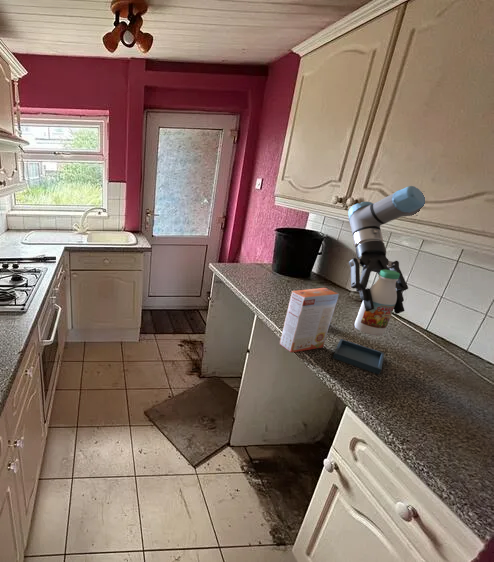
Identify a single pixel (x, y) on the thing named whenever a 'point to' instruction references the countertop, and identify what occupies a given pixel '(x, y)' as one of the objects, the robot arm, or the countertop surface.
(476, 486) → the countertop surface
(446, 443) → the countertop surface
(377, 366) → the tray
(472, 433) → the countertop surface
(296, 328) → the cracker box
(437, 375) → the countertop surface
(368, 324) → the milk bottle
